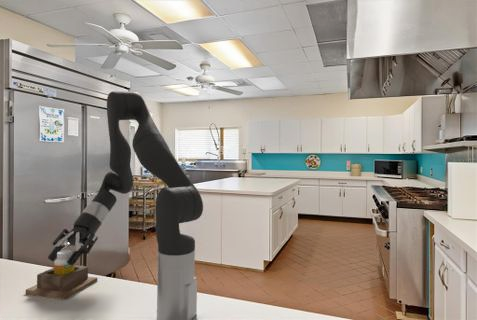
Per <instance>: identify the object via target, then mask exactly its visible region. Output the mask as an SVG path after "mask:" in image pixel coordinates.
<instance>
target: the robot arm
mask: <svg viewBox="0 0 477 320" xmlns="http://www.w3.org/2000/svg"><path fill="white" fill-rule="evenodd" d="M106 114H107V115H106V116H107V127H108V136H109V147H110V148H109V151H110V153H109V168H110V170H111V171H110V170H109V172H107V173H106V174H105V175H104V177H103V180H102V182H101V185H100V188H99V189H98V191H97V194H96V195H95V196H94V198H93V199H92V200H91V201H90V203H89V204H88V205H87V206H86V207H85V208H84V209H83V211H82V212H81V213H80V214H79V215H78V217H77V218H76V219H75V220H74V222H73V228H72V229H71V230H68V229H67V228H64V229H63V230H62V231H61V232H60V233H59V235H58V236H57V237H56V238H55V240H53V242H52V245H53V246H54V248H53V249H52V251H51V252H50V253H49V255H48V256H47V259H48V260H49V261H51V262H55V260H56V259H58V258H57V252H59V251H63V250H65V249H66V248H69V247H71V246H72V247H73V246H75V250H74V251H72V255H71V256H70V258H69V259H68V261H67V263H68V264H69V265H76V262H77V261H78V260H79V258H80V257H81V256H83V254H89V253H90V251H91V250H92V249H93V247H94V245H95V244H96V242H97V241H98V238H99V237H98V236H97V235H96V233H97V232H98V230H99V229H100V227H101V226H102V224H103V222H104V221H105V220H106V219H107V217H108V215H109V214H110V211H111V210H112V209H113V208H114V206H115V205H116V204H117V200H118V199H117V196H116V195H115V194H113V193H112V192H110V190H111V191H114V192H117V193H120V194H122V195H124V194H128V193H130V192H131V190H132V189H133V187H134V176H133V173H132V167H131V159H132V149H131V148H133V152H134V154H135V155H136V158H137V159H138V162H139V164H141V166H142V167H143V168H144V169H145V170H146V171H148V172H149V173H150V174H152V175H154V177H156V178H158V180H160V181H162V183H164V184H165V185H166V186H167V187H164V188H162V189H161V190H159V191H158V193H157V196H156V199H155V204H154V205H155V208H154V209H155V210H154V211H155V212H154V213H155V236H156V242H157V282H156V283H157V287H156V293H157V296H156V320H193V319H194V318H193V317H195V316H196V315H197V313H198V312H197V310H198V309H197V305H198V304H197V303H198V302H197V301H198V277H197V276H195V268H196V267H195V266H196V265H195V263H196V262H195V261H196V253H195V252H196V239H195V238H194V237H193V236H191V235H189V234H184V233H181V229H180V224H183V223H185V224H186V223H189V222H193V221H196V220H198V219H200V218H201V216H202V215H203V212H204V202H203V199H202V195H201V193H200V192H199V190H198V189H197V187H196V185H195V184H194V183H193V182H192V181H191V179H190V178H189V176H188V175H187V174H186V173H185V171H184V170H183V168H182V167H181V166H180V164H179V162H178V160H177V159H176V158H175V156H174V154H173V153H172V151H171V149H170V147H169V145H168V144H167V141H166V140H165V139H164V137H163V135H162V134H161V132H160V130H159V129H158V126H157V125H156V123H155V122H154V119H153V118H152V115H151V113H150V111H149V109H148V106H147V104H146V102H145V99H144V98H143V96H142V95H141V94H140V93H139V92H136V91H127V90H126V91H123V90H122V91H118V90H117V91H116V90H115V91H111V92H109V93H108V95H107V98H106ZM131 120H133V121H136V122H137V123H138V125H137V128H136V131H135V133H134V135H133V138H132V147H131V146H130V144H129V142H128V140H127V139H126V138H125V136H124V135H123V132H122V131H121V128H120V121H131ZM192 318H193V319H192Z"/></svg>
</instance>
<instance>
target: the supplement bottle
mask: <svg viewBox="0 0 477 320" xmlns="http://www.w3.org/2000/svg"><path fill="white" fill-rule="evenodd" d="M72 254H73V250H70V249H63V250H61V251H59V252H57V258H56V259H55V260H54V261H53V262H54V263H53V264H54V265H53V268H54V274H55V275H63V276H64V275H67V274H69V273H71V272H73V271H74V265H75V264H74V265H69V264H68V263H67V261H68V259H69V258H70V256H71V255H72Z"/></svg>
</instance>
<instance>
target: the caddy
mask: <svg viewBox="0 0 477 320" xmlns="http://www.w3.org/2000/svg"><path fill="white" fill-rule="evenodd" d="M97 282H98V277H95V276H94V277H93V276H89V266H85V265H78V264H77V265H76V264H74V271H73V272H71V273H69V274H67V275H64V276H63V275H55V274H54V267H52V268H49V269H48V270H47V269H46V270H45V271H43V272H40V273H38V274H37V275H36V284H35V285H33V286H31V287H29V288H26V289H25V295H31V296H37V297H38V296H39V297H45V298H53V299H59V300H68V299H70V298H72V297H73V296H75V295H76V294H78V293H80V292H81V291H83V290H85V289H87V288H89V287H90V286H92V285H93V284H96V283H97Z"/></svg>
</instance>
